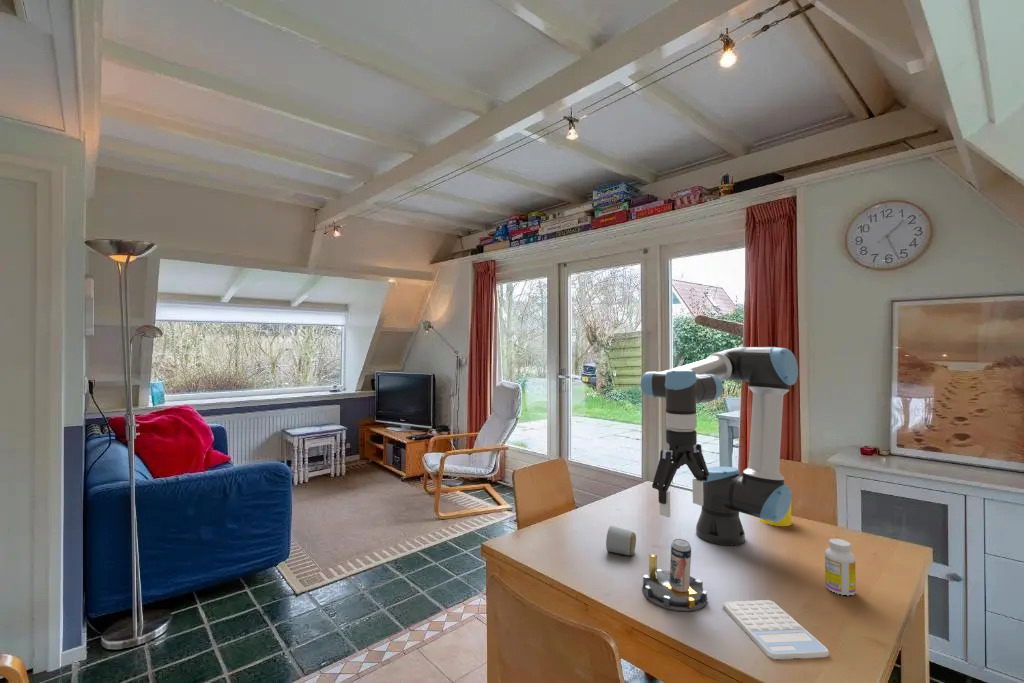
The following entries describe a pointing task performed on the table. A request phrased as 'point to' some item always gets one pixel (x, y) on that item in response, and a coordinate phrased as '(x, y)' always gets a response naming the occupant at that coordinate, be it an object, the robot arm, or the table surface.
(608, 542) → the ceramic mug
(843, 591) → the supplement bottle
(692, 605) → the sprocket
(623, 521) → the table surface
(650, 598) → the hub plate
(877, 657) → the table surface
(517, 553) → the table surface
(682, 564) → the beer can
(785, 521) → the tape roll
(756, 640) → the calculator
